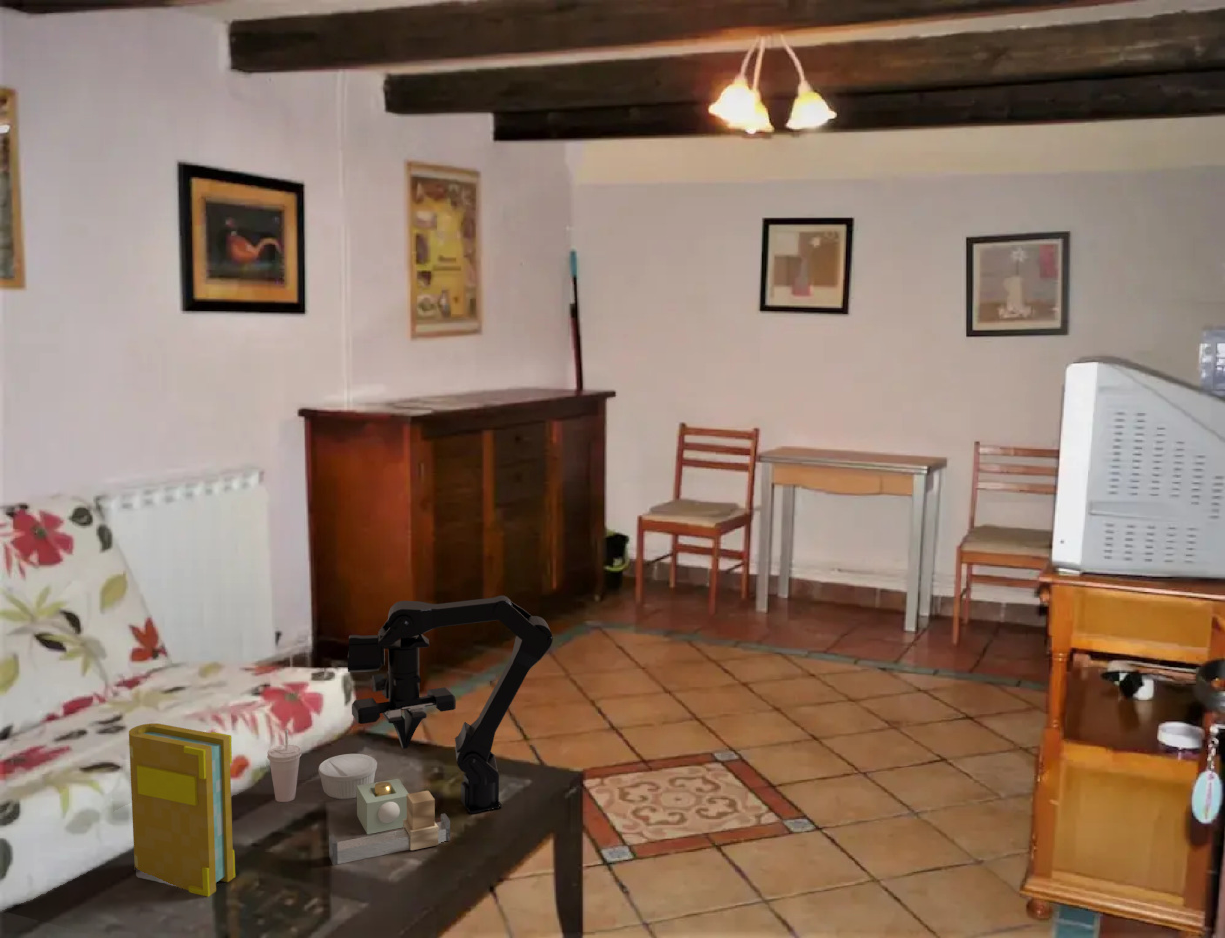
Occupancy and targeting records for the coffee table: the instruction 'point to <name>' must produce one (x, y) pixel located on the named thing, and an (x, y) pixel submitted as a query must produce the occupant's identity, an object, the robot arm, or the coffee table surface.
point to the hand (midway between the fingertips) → (404, 747)
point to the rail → (379, 844)
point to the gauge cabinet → (381, 807)
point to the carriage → (421, 820)
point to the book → (182, 806)
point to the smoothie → (284, 769)
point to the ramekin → (346, 774)
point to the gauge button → (382, 789)
